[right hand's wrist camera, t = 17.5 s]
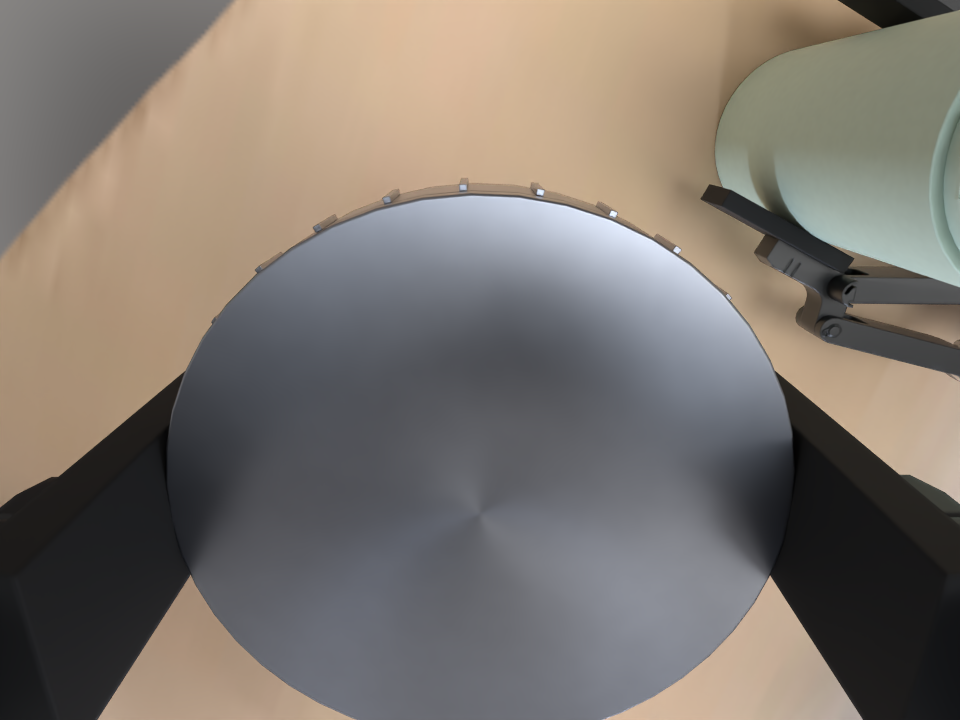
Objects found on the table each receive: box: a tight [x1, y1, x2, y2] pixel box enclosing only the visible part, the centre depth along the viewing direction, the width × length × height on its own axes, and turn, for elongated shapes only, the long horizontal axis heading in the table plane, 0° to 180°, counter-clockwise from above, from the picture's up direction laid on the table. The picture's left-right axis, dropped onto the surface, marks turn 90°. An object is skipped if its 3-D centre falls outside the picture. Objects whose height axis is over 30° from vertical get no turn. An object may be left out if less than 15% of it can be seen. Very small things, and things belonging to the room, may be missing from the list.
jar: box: [715, 10, 960, 287], centre depth 25 cm, size 9×9×18 cm
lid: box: [166, 178, 795, 720], centre depth 11 cm, size 10×10×2 cm
